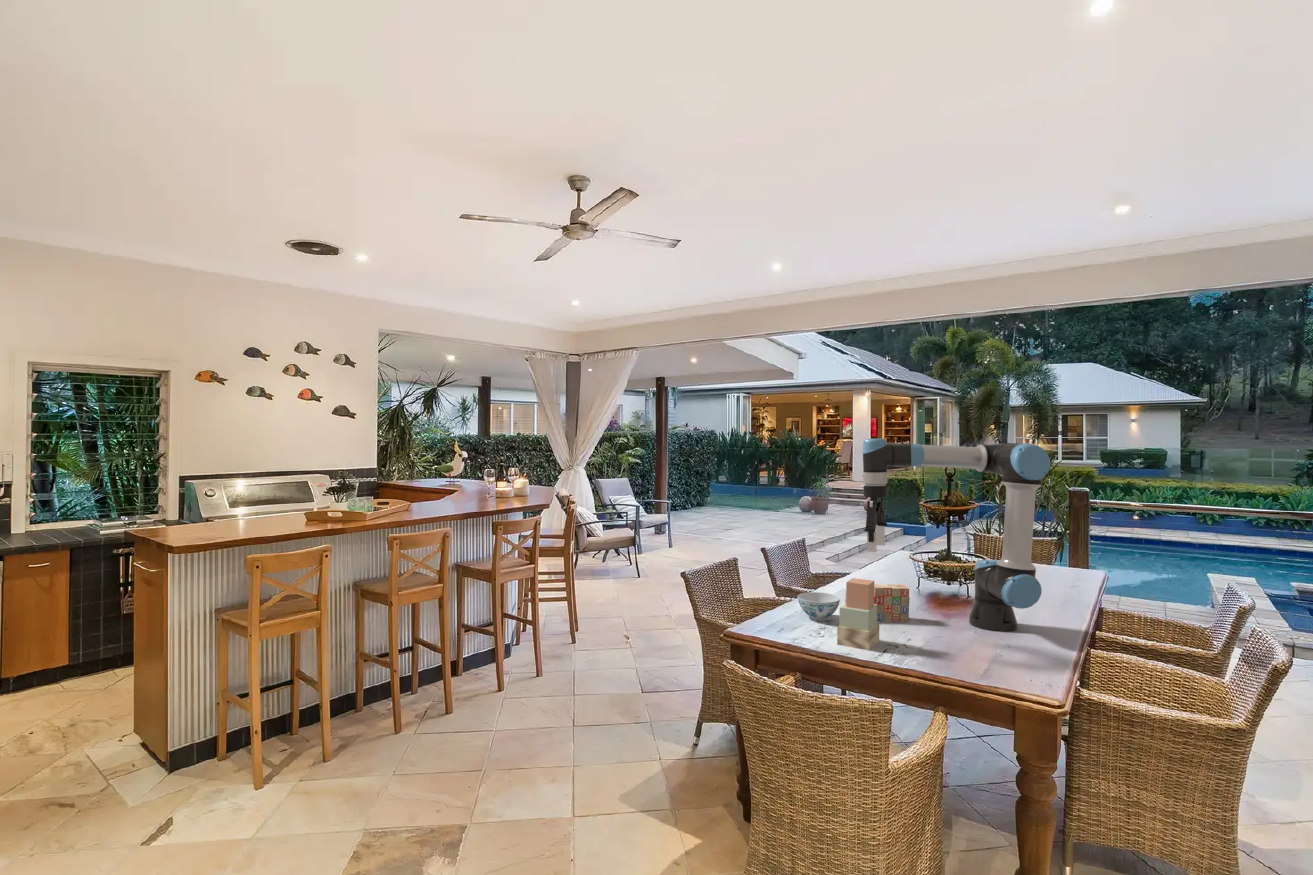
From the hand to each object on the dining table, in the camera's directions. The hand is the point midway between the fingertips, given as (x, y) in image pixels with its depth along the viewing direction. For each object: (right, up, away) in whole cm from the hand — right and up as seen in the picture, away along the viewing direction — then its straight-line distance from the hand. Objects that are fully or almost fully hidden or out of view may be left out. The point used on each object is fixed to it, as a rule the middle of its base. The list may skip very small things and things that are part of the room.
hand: (876, 548), depth 220 cm
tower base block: (-8, -30, -7) cm, 31 cm away
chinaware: (-14, -29, +21) cm, 39 cm away
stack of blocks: (+7, -30, +21) cm, 37 cm away
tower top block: (-8, -24, -7) cm, 26 cm away
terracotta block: (-7, -18, -7) cm, 20 cm away
